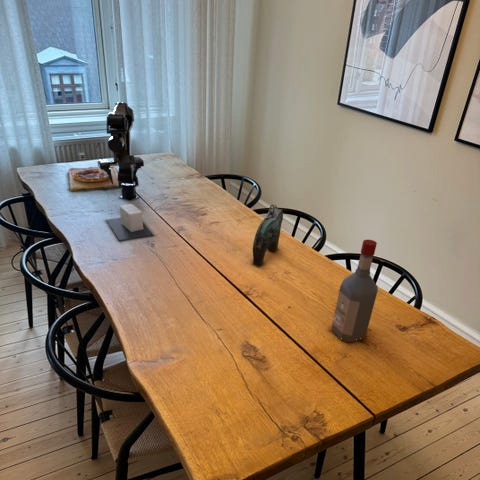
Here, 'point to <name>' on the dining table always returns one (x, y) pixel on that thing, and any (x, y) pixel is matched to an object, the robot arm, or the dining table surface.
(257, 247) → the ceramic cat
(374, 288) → the liquor
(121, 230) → the placemat
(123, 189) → the robot arm
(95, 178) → the pizza
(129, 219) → the small box
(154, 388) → the dining table surface
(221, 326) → the dining table surface
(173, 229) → the dining table surface
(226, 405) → the dining table surface
